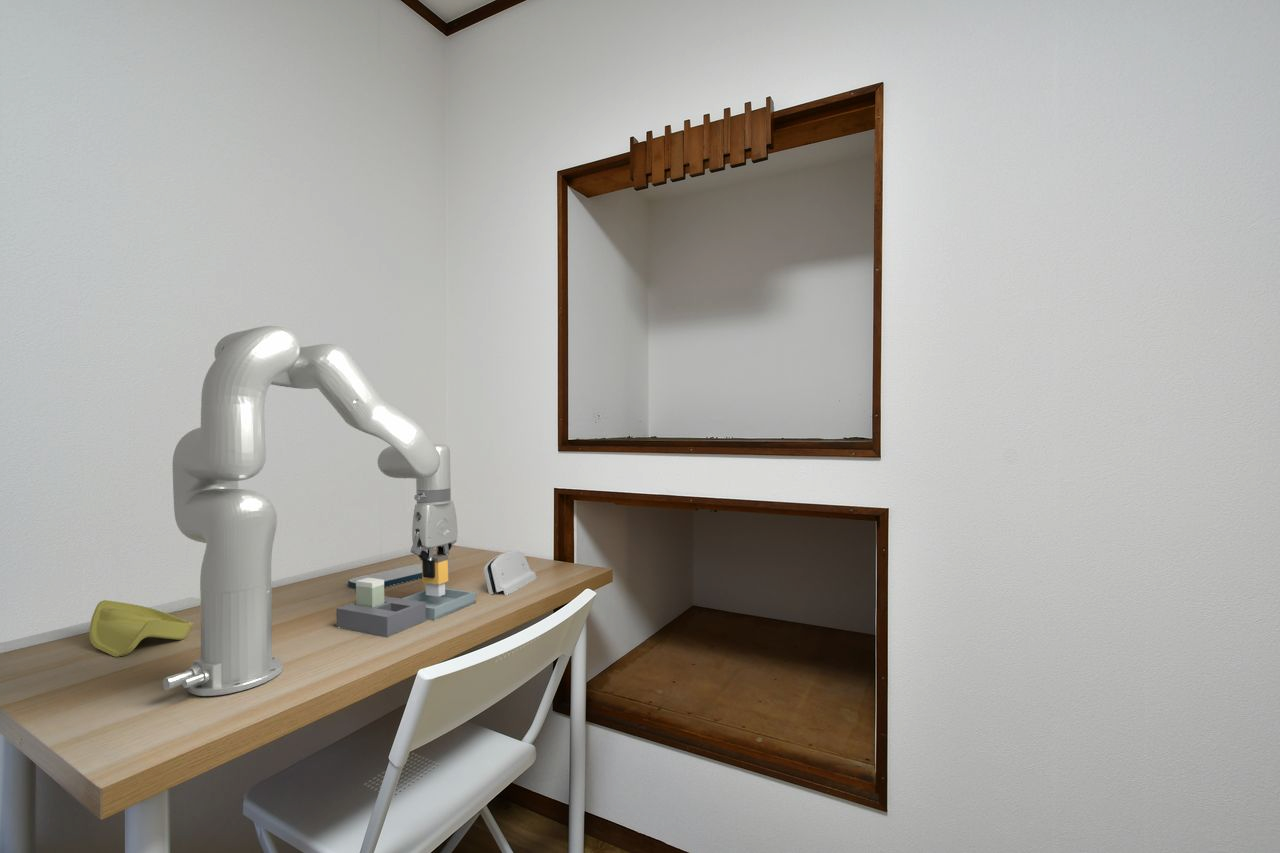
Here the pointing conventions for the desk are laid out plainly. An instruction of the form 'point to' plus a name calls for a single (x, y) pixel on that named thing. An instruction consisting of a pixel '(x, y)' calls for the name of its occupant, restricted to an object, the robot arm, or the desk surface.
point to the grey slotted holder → (508, 572)
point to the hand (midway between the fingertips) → (435, 574)
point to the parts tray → (444, 602)
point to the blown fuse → (437, 576)
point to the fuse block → (379, 611)
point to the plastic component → (131, 626)
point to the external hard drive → (392, 575)
